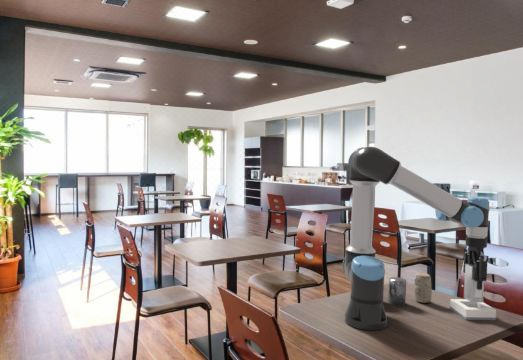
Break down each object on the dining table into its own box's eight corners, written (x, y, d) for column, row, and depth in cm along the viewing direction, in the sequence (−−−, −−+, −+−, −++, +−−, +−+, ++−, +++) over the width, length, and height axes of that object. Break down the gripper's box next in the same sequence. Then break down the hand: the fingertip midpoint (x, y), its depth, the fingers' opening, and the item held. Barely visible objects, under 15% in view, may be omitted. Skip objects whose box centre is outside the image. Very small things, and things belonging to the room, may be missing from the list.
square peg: (470, 302, 163) (472, 266, 162) (463, 298, 168) (465, 263, 167) (482, 302, 163) (484, 267, 162) (475, 298, 168) (477, 263, 167)
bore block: (465, 319, 159) (465, 309, 159) (449, 308, 171) (450, 299, 171) (495, 320, 160) (496, 310, 160) (478, 309, 172) (478, 299, 172)
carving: (418, 298, 184) (420, 271, 183) (434, 303, 178) (436, 275, 177) (410, 300, 180) (411, 273, 180) (425, 305, 174) (427, 277, 174)
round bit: (391, 305, 173) (392, 281, 172) (385, 299, 180) (386, 277, 179) (407, 305, 173) (409, 282, 173) (401, 300, 180) (402, 277, 180)
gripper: (499, 241, 155) (496, 302, 157) (473, 232, 173) (470, 287, 175) (480, 240, 155) (477, 302, 156) (455, 232, 173) (452, 287, 174)
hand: (473, 294), depth 165 cm, fingers closed on square peg, 5 cm apart
